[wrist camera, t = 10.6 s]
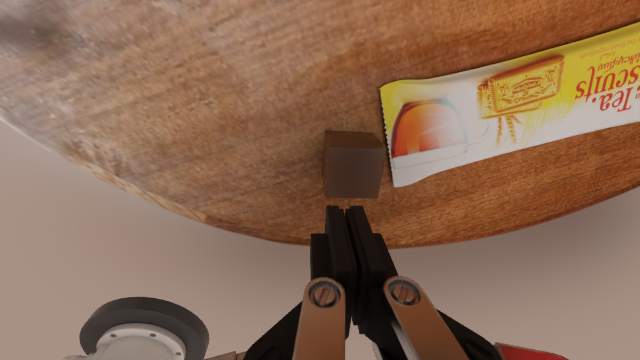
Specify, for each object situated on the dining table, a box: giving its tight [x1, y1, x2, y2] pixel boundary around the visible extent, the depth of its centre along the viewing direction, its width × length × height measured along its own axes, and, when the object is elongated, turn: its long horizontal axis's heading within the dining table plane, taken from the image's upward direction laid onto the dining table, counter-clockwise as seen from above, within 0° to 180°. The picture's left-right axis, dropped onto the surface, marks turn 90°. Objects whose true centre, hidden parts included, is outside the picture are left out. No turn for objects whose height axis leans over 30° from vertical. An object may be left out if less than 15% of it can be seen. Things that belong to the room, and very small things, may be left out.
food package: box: [379, 22, 640, 187], centre depth 22 cm, size 27×2×10 cm
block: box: [322, 131, 387, 199], centre depth 23 cm, size 4×4×4 cm
